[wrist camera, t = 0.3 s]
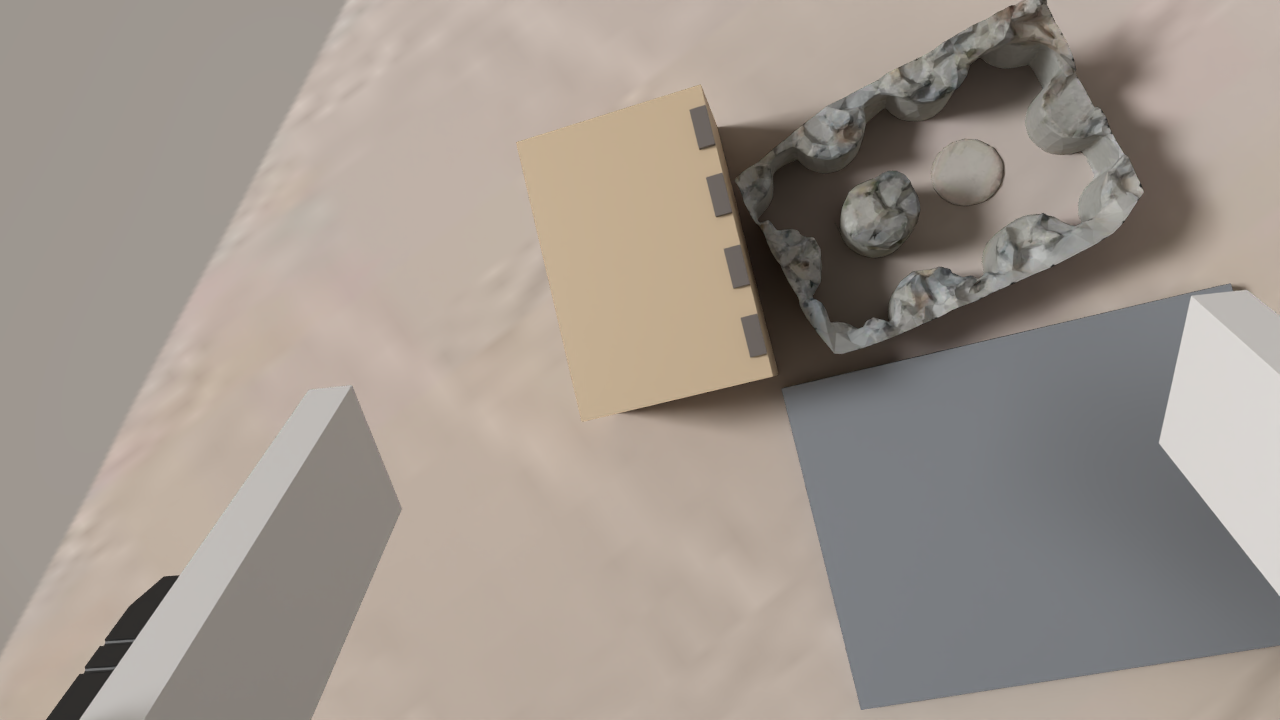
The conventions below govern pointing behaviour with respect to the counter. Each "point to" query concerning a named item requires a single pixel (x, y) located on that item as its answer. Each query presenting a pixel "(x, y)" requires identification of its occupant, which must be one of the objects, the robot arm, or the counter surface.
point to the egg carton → (950, 175)
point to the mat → (1020, 513)
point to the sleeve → (646, 256)
